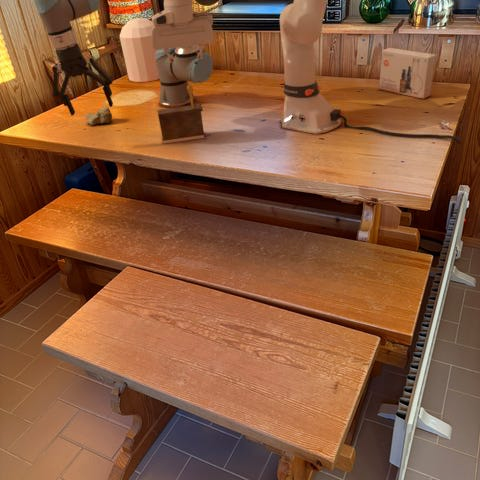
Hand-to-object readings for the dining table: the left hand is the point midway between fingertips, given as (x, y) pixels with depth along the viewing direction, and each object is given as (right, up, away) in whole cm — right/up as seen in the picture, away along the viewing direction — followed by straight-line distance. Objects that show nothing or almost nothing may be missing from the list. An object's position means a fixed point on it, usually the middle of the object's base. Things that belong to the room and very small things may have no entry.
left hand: (92, 109), depth 158 cm
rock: (-7, +4, +32) cm, 33 cm away
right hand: (+33, +15, -4) cm, 36 cm away
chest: (+30, -7, +10) cm, 33 cm away
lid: (+29, +1, +5) cm, 30 cm away
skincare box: (+117, +15, +31) cm, 122 cm away
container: (+2, +42, +85) cm, 95 cm away
